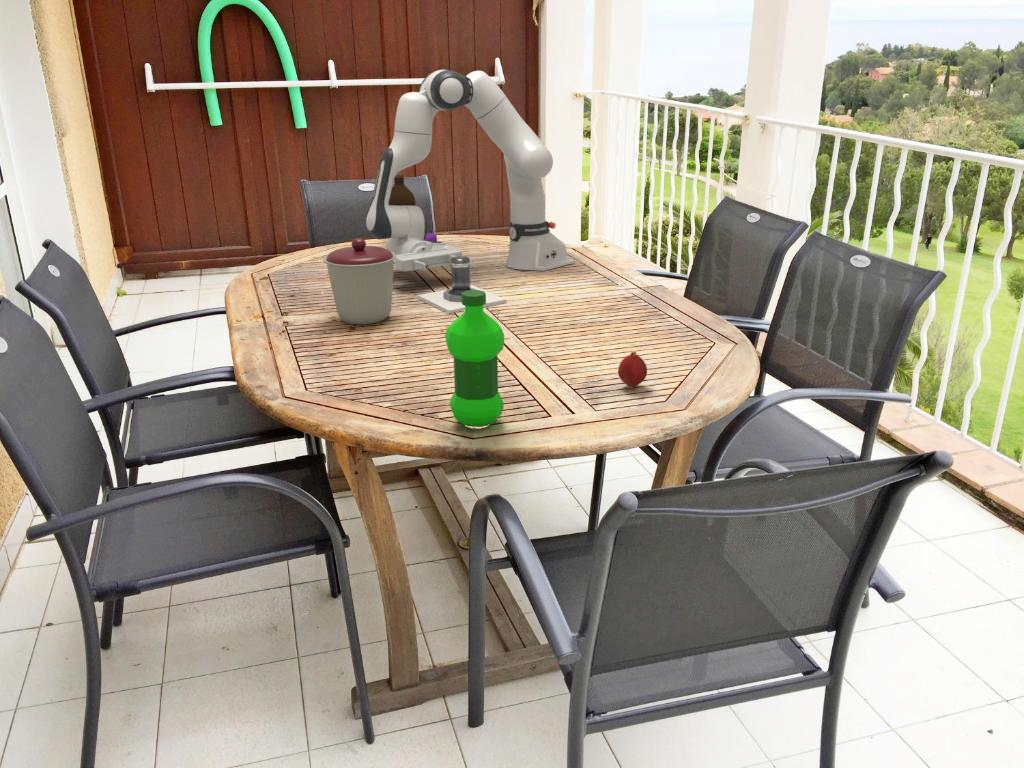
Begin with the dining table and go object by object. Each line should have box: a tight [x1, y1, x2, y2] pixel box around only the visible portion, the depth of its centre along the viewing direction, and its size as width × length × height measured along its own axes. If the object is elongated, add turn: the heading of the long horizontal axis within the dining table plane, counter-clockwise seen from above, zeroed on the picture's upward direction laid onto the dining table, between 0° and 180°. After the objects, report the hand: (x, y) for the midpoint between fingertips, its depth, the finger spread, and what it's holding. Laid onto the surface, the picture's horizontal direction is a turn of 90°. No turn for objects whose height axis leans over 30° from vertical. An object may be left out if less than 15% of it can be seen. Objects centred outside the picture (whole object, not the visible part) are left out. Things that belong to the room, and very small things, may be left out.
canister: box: [323, 237, 396, 325], centre depth 207 cm, size 18×18×21 cm
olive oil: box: [389, 172, 416, 206], centre depth 289 cm, size 11×11×25 cm
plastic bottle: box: [445, 290, 505, 426], centre depth 146 cm, size 10×10×25 cm
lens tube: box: [450, 255, 471, 296], centre depth 223 cm, size 5×5×11 cm
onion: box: [617, 350, 648, 388], centre depth 164 cm, size 6×6×8 cm
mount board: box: [417, 284, 507, 314], centre depth 225 cm, size 18×18×2 cm
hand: (441, 264), depth 231 cm, fingers open, 8 cm apart
